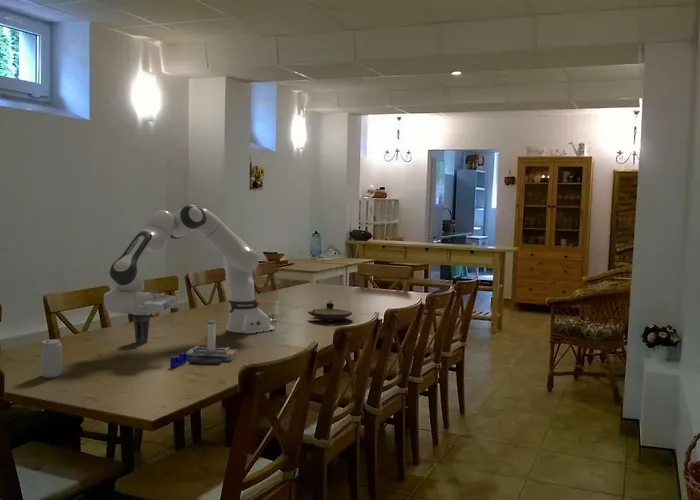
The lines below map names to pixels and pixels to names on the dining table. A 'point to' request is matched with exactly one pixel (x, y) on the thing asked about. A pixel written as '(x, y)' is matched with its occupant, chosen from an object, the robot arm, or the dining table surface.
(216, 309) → the dining table surface
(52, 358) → the beverage can
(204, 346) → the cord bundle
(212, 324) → the knob
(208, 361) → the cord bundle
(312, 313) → the oil lamp
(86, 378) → the dining table surface
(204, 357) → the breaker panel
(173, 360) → the cable holder
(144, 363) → the dining table surface
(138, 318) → the beverage cup
